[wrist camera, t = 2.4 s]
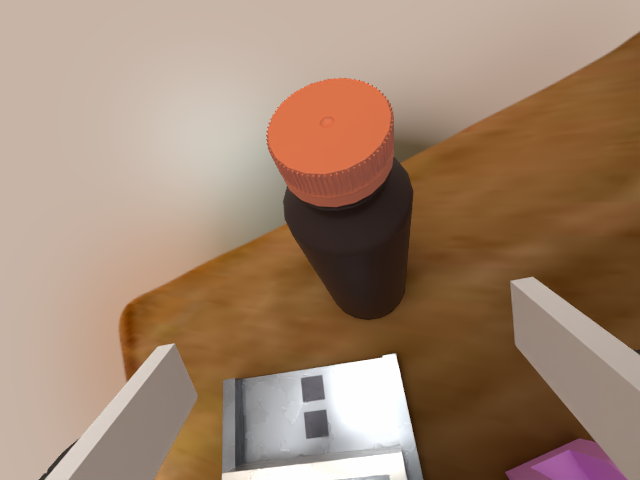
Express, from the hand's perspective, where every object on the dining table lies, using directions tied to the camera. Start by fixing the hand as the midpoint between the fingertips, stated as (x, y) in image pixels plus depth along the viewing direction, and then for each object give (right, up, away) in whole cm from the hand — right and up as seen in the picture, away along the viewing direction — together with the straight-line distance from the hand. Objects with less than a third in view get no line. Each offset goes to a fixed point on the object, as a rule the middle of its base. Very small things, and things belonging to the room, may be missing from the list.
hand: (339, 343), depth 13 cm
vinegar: (+4, 0, +17) cm, 18 cm away
